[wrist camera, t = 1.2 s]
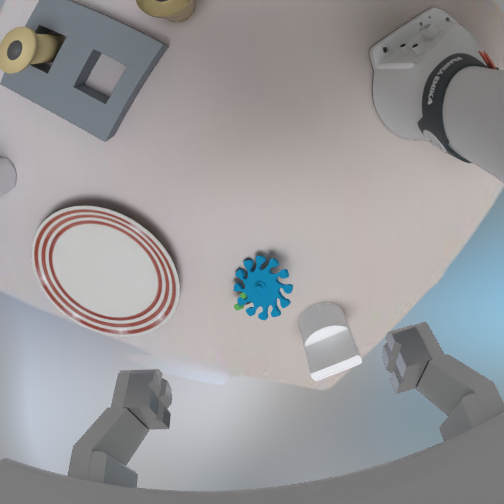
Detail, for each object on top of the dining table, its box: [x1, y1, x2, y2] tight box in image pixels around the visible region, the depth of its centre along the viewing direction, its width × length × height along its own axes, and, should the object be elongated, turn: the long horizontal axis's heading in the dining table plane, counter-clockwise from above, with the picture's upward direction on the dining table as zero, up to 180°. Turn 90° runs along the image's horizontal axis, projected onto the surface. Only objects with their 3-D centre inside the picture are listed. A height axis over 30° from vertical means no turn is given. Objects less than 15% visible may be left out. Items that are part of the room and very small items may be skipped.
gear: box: [234, 256, 293, 320], centre depth 50 cm, size 11×6×10 cm
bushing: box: [136, 0, 195, 22], centre depth 25 cm, size 6×6×10 cm
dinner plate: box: [31, 206, 180, 337], centre depth 48 cm, size 28×27×3 cm
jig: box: [0, 0, 169, 142], centre depth 26 cm, size 20×14×10 cm
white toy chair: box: [299, 302, 362, 381], centre depth 54 cm, size 9×9×12 cm
